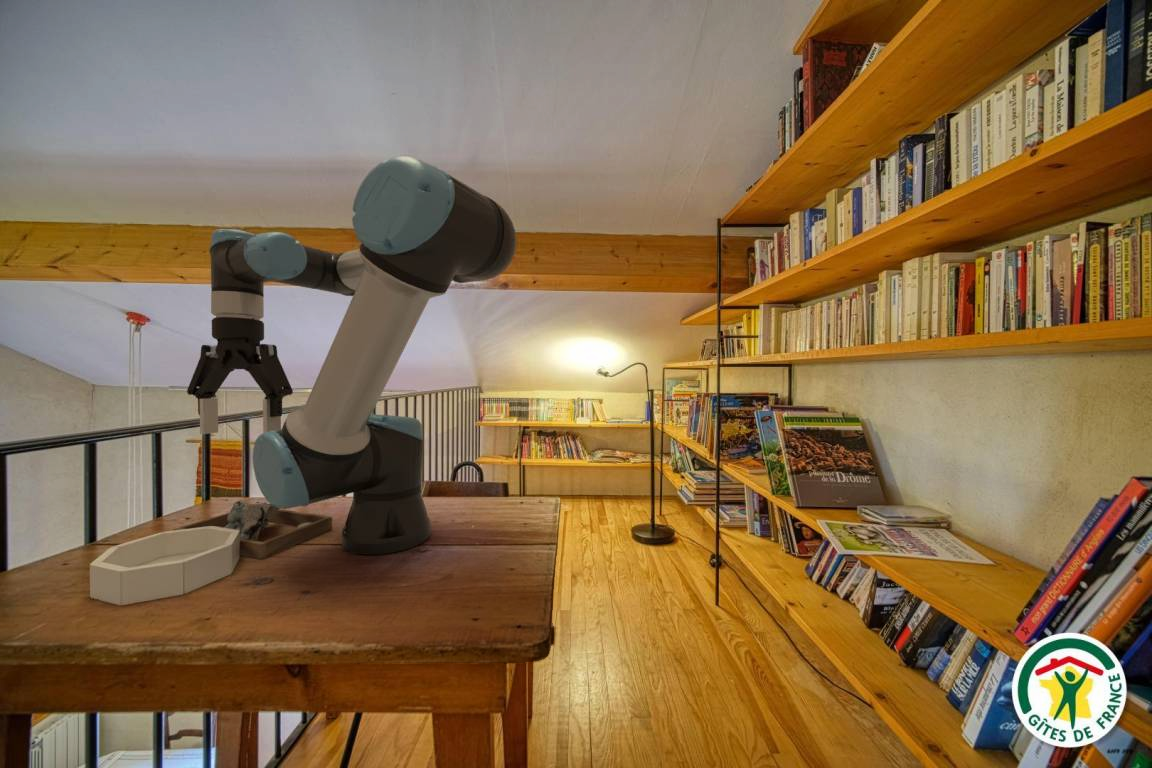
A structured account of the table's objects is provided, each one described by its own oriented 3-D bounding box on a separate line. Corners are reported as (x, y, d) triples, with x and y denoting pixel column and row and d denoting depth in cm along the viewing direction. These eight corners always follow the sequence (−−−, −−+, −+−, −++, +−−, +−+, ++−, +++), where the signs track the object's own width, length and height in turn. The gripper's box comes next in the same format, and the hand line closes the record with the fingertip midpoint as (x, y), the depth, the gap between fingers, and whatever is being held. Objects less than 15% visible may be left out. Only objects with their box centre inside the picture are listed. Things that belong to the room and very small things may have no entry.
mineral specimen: (231, 566, 77) (288, 548, 78) (197, 551, 71) (261, 532, 72) (241, 517, 83) (295, 501, 84) (212, 499, 77) (270, 483, 78)
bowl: (260, 561, 68) (260, 533, 68) (144, 611, 54) (143, 576, 54) (193, 548, 72) (193, 522, 72) (68, 592, 58) (68, 559, 58)
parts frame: (331, 529, 82) (332, 516, 82) (261, 559, 69) (261, 544, 69) (253, 517, 88) (253, 505, 88) (173, 543, 74) (173, 529, 74)
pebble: (319, 531, 82) (319, 523, 82) (306, 537, 79) (306, 528, 79) (307, 529, 82) (307, 521, 82) (293, 535, 79) (293, 526, 79)
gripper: (314, 319, 79) (315, 432, 79) (203, 322, 83) (204, 430, 84) (279, 313, 71) (280, 438, 72) (159, 317, 76) (161, 435, 76)
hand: (240, 434), depth 78 cm, fingers open, 13 cm apart
